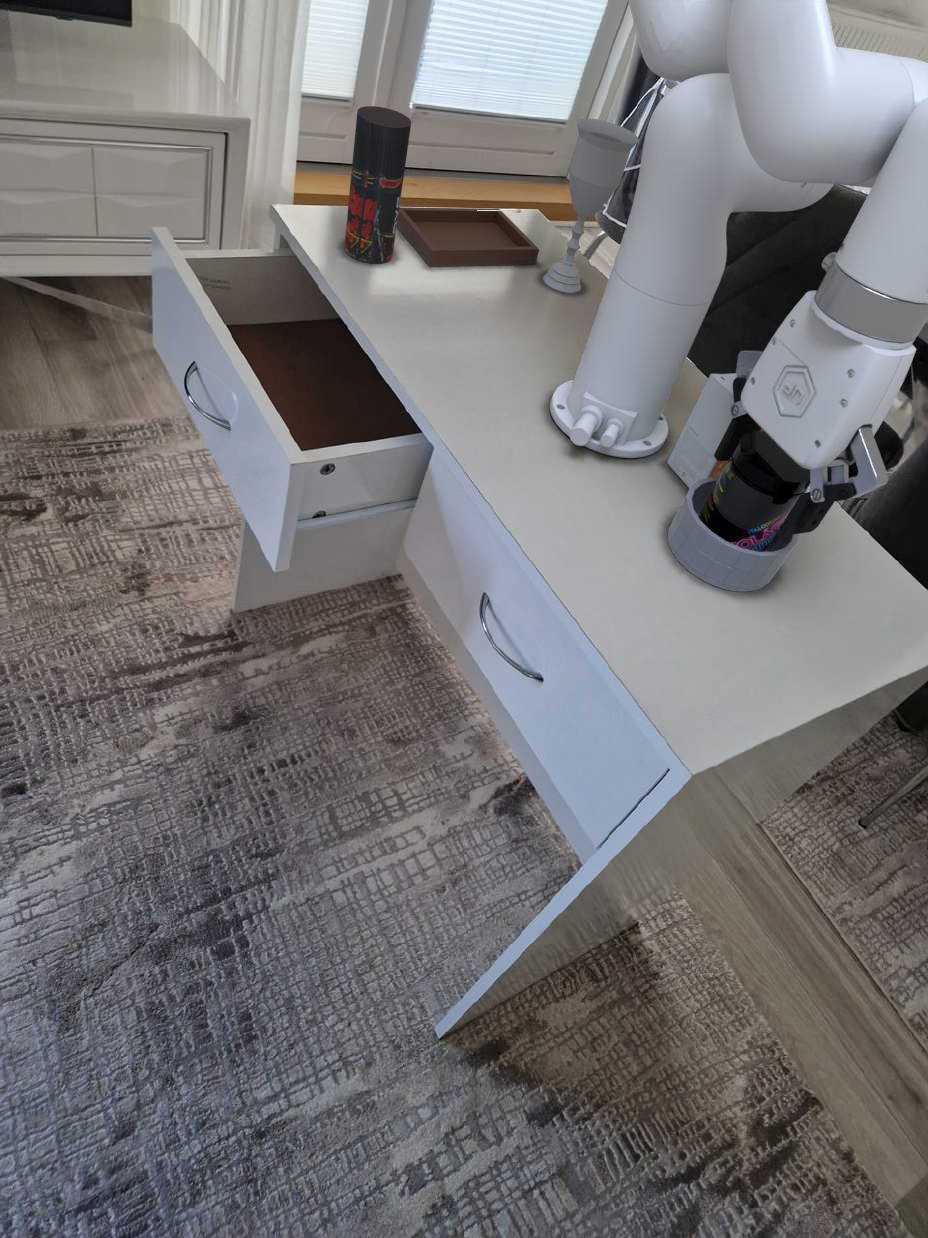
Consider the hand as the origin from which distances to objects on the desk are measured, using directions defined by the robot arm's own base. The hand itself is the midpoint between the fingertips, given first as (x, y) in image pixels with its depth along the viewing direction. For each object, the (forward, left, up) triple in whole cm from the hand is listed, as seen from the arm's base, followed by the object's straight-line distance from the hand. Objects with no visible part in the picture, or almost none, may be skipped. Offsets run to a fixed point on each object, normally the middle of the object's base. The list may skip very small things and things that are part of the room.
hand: (760, 493), depth 69 cm
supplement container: (0, 0, -7) cm, 7 cm away
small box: (+11, +3, -7) cm, 14 cm away
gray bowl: (0, 0, -7) cm, 7 cm away
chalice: (+40, +29, -7) cm, 50 cm away
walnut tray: (+40, +43, -7) cm, 60 cm away
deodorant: (+28, +51, -7) cm, 59 cm away
